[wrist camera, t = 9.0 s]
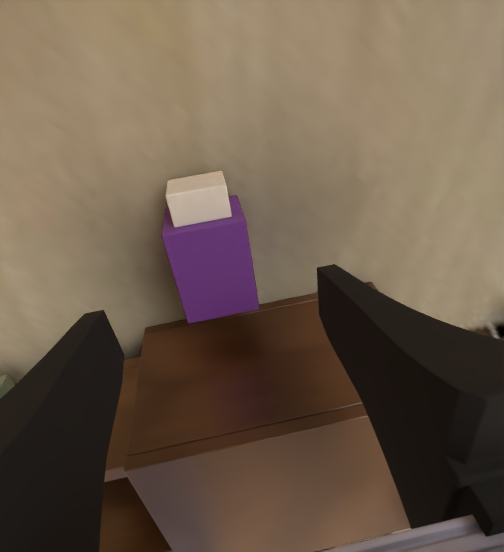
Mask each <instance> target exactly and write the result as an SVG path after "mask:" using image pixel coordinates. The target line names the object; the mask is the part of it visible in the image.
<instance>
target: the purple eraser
mask: <svg viewBox="0 0 504 552" xmlns="http://www.w3.org/2000/svg"><path fill="white" fill-rule="evenodd" d="M166 200H167V204H168V207H169V208H166V209H165V216H164V223H163V230H162V239H163V243H164V246H165V249H166V253H167V256H168V259H169V263H170V266H171V269H172V272H173V276H174V279H175V282H176V286H177V289H178V292H179V296H180V299H181V302H182V305H183V309H184V312H185V315H186V319H187V322H188V323H194V322H199V321H204V320H209V319H214V318H219V317H224V316H229V315H234V314H238V313H243V312H248V311H253V310H258V309H259V302H258V296H257V289H256V283H255V276H254V270H253V264H252V257H251V251H250V244H249V238H248V231H247V225H246V220H245V217H244V214H243V211H242V208H241V205H240V203H239V200H238V197H237V196H230V197H228V191H227V186H226V182H225V179H224V175H223V172H222V171H217V172H211V173H206V174H200V175H194V176H189V177H183V178H178V179H172V180H168V183H167V190H166Z"/></svg>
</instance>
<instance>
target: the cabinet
mask: <svg viewBox="0 0 504 552" xmlns="http://www.w3.org/2000/svg"><path fill="white" fill-rule="evenodd" d="M365 284H367V285H369V286H370V287H372V288H374V289H375V290H377V289H376V288H375V286H374V285H373V284H372V283H371V282H370V283H365ZM377 291H378V290H377ZM126 456H127V457H126V460H125V466H124V472H125V474H126V475H127V477H128V479H129V480H130V482H131V484H132V485H133V487H134V488H135V490H136V492H137V493H138V495H139V497H140V498H141V500H142V502H143V503H144V505H145V506H146V508H147V510H148V511H149V513H150V515H151V516H152V518H153V520H154V521H155V523H156V524H157V526H158V528H159V529H160V531H161V533H162V534H163V536H164V537H165V539H166V541H167V542H168V544H169V546H170V547H171V549H172V551H173V552H315V551H319V550H323V549H327V548H331V547H336V546H340V545H344V544H348V543H352V542H356V541H360V540H364V539H368V538H372V537H376V536H380V535H385V534H389V533H393V532H397V531H401V530H405V529H409V528H411V527H410V524H409V522H408V519H407V516H406V513H405V510H404V508H403V505H402V502H401V499H400V496H399V494H398V491H397V488H396V486H395V483H394V480H393V478H392V475H391V472H390V470H389V467H388V464H387V462H386V459H385V457H384V454H383V452H382V449H381V447H380V444H379V442H378V439H377V437H376V434H375V432H374V429H373V427H372V424H371V422H370V420H369V417H368V415H367V412H366V410H365V408H364V405H363V403H362V401H361V399H360V397H359V395H358V393H357V391H356V389H355V387H354V385H353V384H352V382H351V380H350V378H349V376H348V374H347V373H346V371H345V369H344V367H343V365H342V363H341V362H340V360H339V358H338V356H337V354H336V352H335V351H334V349H333V347H332V345H331V343H330V341H329V339H328V337H327V334H326V332H325V329H324V327H323V324H322V321H321V319H320V316H319V304H318V293H315V294H311V295H306V296H301V297H296V298H291V299H286V300H281V301H276V302H271V303H266V304H261V305H259V309H258V310H253V311H248V312H243V313H238V314H234V315H229V316H224V317H219V318H214V319H209V320H204V321H199V322H194V323H188V322H187V320H182V321H177V322H172V323H167V324H163V325H158V326H153V327H148V328H145V332H144V339H143V346H142V352H141V359H140V366H139V373H138V379H137V386H136V393H135V399H134V406H133V413H132V419H131V426H130V433H129V440H128V446H127V453H126Z"/></svg>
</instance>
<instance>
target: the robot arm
mask: <svg viewBox="0 0 504 552" xmlns="http://www.w3.org/2000/svg"><path fill="white" fill-rule="evenodd" d="M317 279H318V304H319V316H320V319H321V321H322V324H323V327H324V329H325V332H326V334H327V337H328V339H329V341H330V343H331V345H332V347H333V349H334V351H335V352H336V354H337V356H338V358H339V360H340V362H341V363H342V365H343V367H344V369H345V371H346V373H347V374H348V376H349V378H350V380H351V382H352V384H353V385H354V387H355V389H356V391H357V393H358V395H359V397H360V399H361V401H362V403H363V405H364V408H365V410H366V412H367V415H368V417H369V420H370V422H371V424H372V427H373V429H374V432H375V434H376V437H377V439H378V442H379V444H380V447H381V449H382V452H383V454H384V457H385V459H386V462H387V464H388V467H389V470H390V472H391V475H392V478H393V480H394V483H395V486H396V488H397V491H398V494H399V496H400V499H401V502H402V505H403V508H404V510H405V513H406V516H407V519H408V522H409V524H410V527H411V529H410V530H406V531H402V532H398V533H394V534H390V535H386V536H382V537H378V538H373V539H369V540H365V541H361V542H357V543H353V544H349V545H345V546H341V547H337V548H332V549H328V550H324V551H320V552H504V341H503V340H500V339H496V338H492V337H488V336H485V335H481V334H478V333H475V332H471V331H468V330H465V329H462V328H459V327H456V326H453V325H450V324H448V323H445V322H442V321H440V320H437V319H434V318H432V317H430V316H427V315H425V314H423V313H420V312H418V311H416V310H413V309H411V308H409V307H407V306H405V305H403V304H401V303H399V302H397V301H395V300H393V299H391V298H389V297H388V296H386V295H384V294H382V293H380V292H379V291H377V290H375V289H374V288H372V287H370V286H369V285H367V284H365V283H364V282H362V281H360V280H359V279H357V278H356V277H354V276H353V275H351V274H349V273H348V272H346V271H345V270H343V269H342V268H340V267H338V266H337V265H335V264H333V265H328V266H323V267H318V268H317ZM123 368H124V353H123V351H122V349H121V347H120V344H119V342H118V340H117V338H116V336H115V333H114V331H113V329H112V327H111V325H110V323H109V320H108V318H107V316H106V314H105V312H104V310H101V311H96V312H91V313H86V314H84V315H83V316H82V317H81V318H80V319H79V320H78V321H77V322H76V323H75V324H74V325H73V326H72V327H71V328H70V329H69V331H68V332H67V333H66V334H65V335H64V336H63V337H62V338H61V339H60V340H59V341H58V342H57V344H56V345H55V346H54V347H53V348H52V349H51V350H50V351H49V352H48V353H47V354H46V355H45V356H44V357H43V358H42V359H41V360H40V361H39V362H38V363H37V364H36V365H35V366H34V367H33V368H32V369H31V370H30V371H29V372H28V373H27V374H26V375H25V376H24V377H23V378H22V379H21V380H20V381H19V382H18V383H17V384H16V385H15V386H14V387H13V388H12V389H11V390H9V391H8V392H7V393H6V394H5V395H4V396H3V397H2V398H0V552H99V548H100V529H101V515H102V503H103V490H104V481H105V471H106V461H107V455H108V449H109V444H110V439H111V434H112V430H113V425H114V420H115V416H116V411H117V406H118V402H119V397H120V392H121V387H122V381H123Z"/></svg>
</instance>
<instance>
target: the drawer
mask: <svg viewBox="0 0 504 552" xmlns="http://www.w3.org/2000/svg"><path fill="white" fill-rule="evenodd" d="M140 359H141V357H136V358H131V359H126V360H124V368H123V381H122V387H121V392H120V397H119V402H118V406H117V411H116V416H115V420H114V425H113V430H112V434H111V439H110V444H109V449H108V455H107V461H106V471H105V481H104V490H103V503H102V515H101V529H100V548H99V552H173V551H172V549H171V547H170V546H169V544H168V542H167V541H166V539H165V537H164V536H163V534H162V533H161V531H160V529H159V528H158V526H157V524H156V523H155V521H154V520H153V518H152V516H151V515H150V513H149V511H148V510H147V508H146V506H145V505H144V503H143V502H142V500H141V498H140V497H139V495H138V493H137V492H136V490H135V488H134V487H133V485H132V484H131V482H130V480H129V479H128V477H127V475H126V474H125V472H124V466H125V460H126V457H127V456H126V453H127V446H128V440H129V433H130V426H131V419H132V413H133V406H134V399H135V393H136V386H137V379H138V373H139V366H140ZM14 386H15V384H14V383H13V381H12V380H11V378H10V377H9V376H8V375H7V374H6V375H1V376H0V398H2V397H3V396H4V395H5V394H6V393H7V392H8V391H9V390H11V389H12V388H13V387H14Z"/></svg>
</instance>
